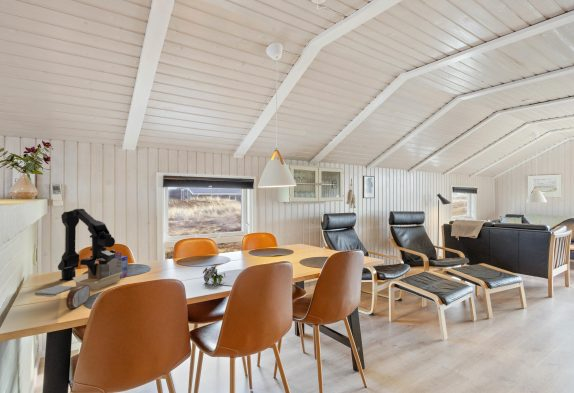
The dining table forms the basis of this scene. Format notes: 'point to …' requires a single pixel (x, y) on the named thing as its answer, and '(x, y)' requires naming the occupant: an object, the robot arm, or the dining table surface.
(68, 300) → the tin
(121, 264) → the ink cartridge box
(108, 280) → the beige tray
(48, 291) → the felt pad
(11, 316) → the dining table surface
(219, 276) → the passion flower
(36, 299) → the dining table surface
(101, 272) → the walnut block
